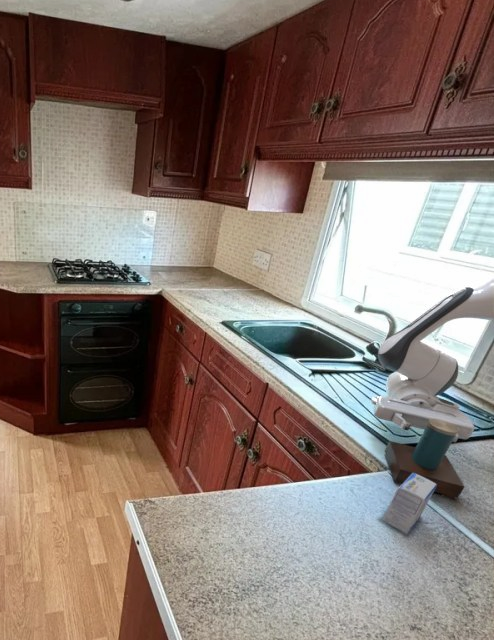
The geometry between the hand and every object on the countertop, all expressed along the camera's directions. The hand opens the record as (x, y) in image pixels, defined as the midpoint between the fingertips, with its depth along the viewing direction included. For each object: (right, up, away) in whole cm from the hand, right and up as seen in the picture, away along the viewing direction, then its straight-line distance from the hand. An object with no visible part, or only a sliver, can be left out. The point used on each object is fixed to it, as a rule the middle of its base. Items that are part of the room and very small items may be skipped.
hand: (429, 433), depth 93 cm
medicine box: (-15, -15, -13) cm, 25 cm away
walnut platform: (-2, -10, +1) cm, 10 cm away
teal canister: (-2, -6, -1) cm, 7 cm away
